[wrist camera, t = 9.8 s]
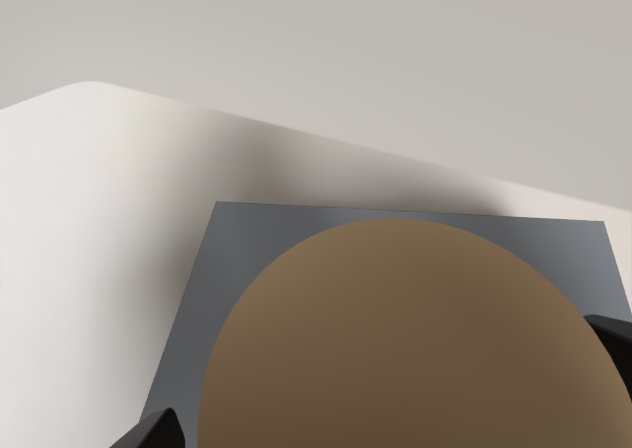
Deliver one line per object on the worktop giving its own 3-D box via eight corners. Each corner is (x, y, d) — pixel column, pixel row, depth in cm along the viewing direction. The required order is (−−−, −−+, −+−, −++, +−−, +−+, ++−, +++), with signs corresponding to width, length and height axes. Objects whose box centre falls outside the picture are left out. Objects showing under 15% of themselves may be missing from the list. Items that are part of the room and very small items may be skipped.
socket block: (651, 806, 10) (866, 1091, 6) (140, 641, 13) (26, 743, 9) (547, 273, 18) (603, 221, 13) (248, 249, 21) (216, 201, 16)
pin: (450, 446, 14) (776, 487, 3) (366, 512, 13) (340, 930, 2) (387, 355, 16) (425, 167, 5) (311, 408, 15) (147, 334, 4)
